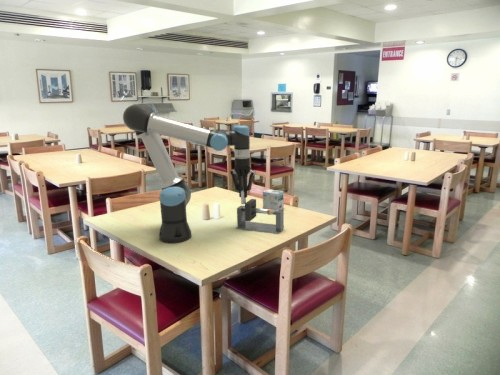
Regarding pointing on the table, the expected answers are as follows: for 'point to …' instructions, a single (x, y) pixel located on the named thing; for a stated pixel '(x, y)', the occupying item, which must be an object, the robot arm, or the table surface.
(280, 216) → the pipe rig
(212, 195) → the table surface
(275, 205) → the light bulb box
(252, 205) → the ring
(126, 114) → the robot arm
